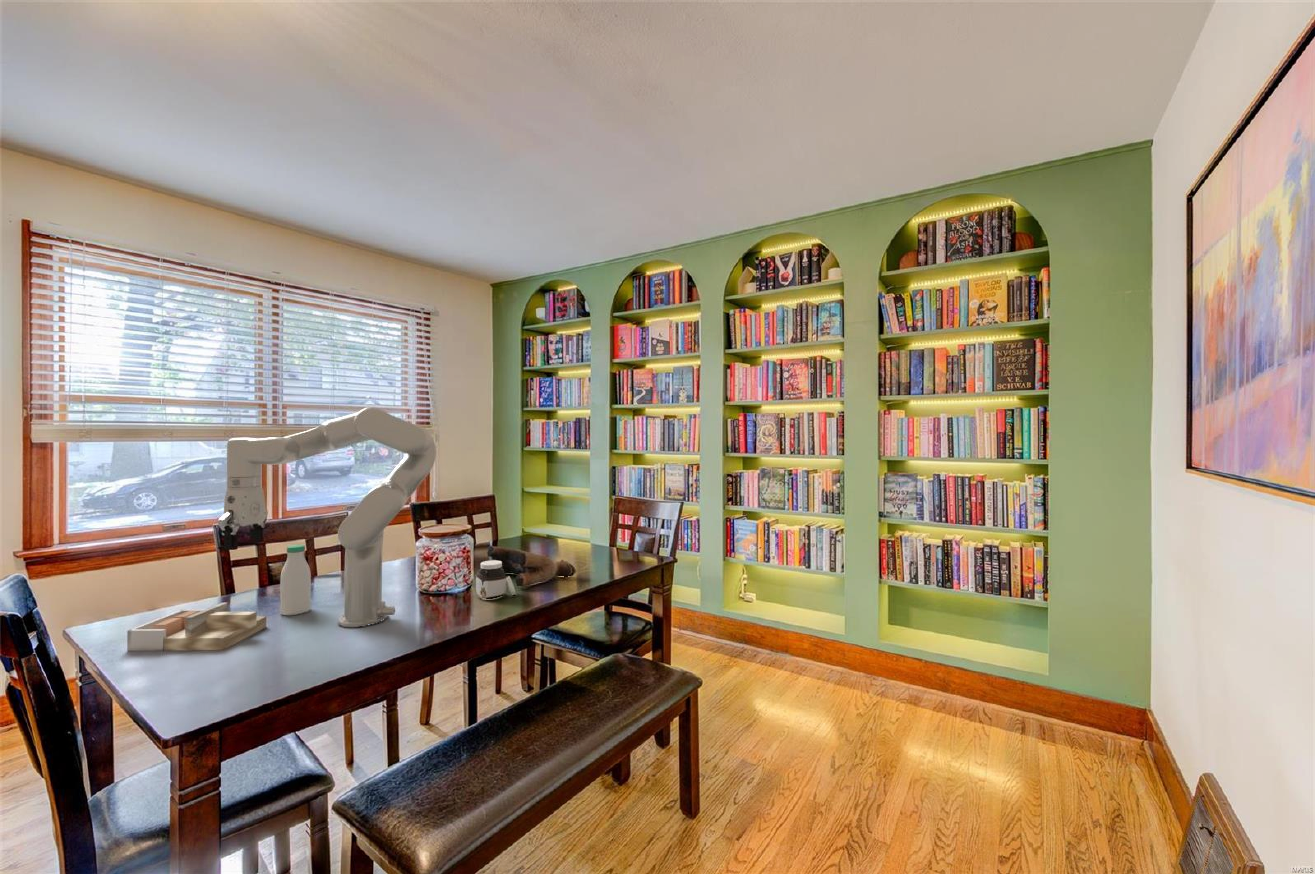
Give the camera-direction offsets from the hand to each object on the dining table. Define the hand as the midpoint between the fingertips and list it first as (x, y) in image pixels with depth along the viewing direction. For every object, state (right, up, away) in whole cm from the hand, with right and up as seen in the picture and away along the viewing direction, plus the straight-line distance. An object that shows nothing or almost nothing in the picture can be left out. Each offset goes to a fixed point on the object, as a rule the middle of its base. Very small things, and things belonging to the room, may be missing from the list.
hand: (244, 545), depth 147 cm
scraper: (+1, -20, -5) cm, 21 cm away
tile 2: (-12, -20, -2) cm, 24 cm away
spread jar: (+59, -24, +33) cm, 72 cm away
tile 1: (-12, -20, -8) cm, 25 cm away
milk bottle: (+3, -24, +16) cm, 29 cm away
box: (-14, -23, -6) cm, 28 cm away
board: (-3, -23, -5) cm, 24 cm away
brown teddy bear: (+65, -24, +57) cm, 90 cm away
